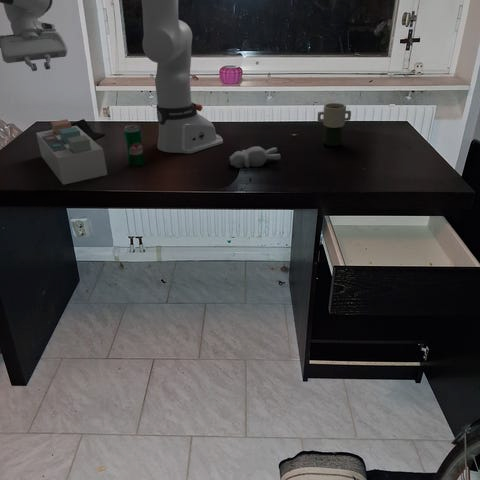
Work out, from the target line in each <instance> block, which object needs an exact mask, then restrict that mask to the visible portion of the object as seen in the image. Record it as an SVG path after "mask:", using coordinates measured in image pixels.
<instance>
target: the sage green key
mask: <svg viewBox="0 0 480 480" xmlns="http://www.w3.org/2000/svg"><path fill="white" fill-rule="evenodd" d="M67 139H68V144H69V149H70V151H71V152H72V153H73V154H74V153H79V152H84V151H89V150H91V145H90V140H89V139H88V138H87V137H86V136H85V135H82V136H77V137H72V138H67Z"/></svg>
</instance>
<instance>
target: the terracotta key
mask: <svg viewBox="0 0 480 480" xmlns="http://www.w3.org/2000/svg"><path fill="white" fill-rule="evenodd" d="M50 124H51V127H52V129H51V130H53V133H54V134H55V135H56V136H57V135H60V133H59V130H60V129H66V128H72V126H71V124H72V123H71V122H70V121H69V120H68V119H61V120H55V121H51V122H50Z"/></svg>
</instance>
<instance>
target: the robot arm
mask: <svg viewBox="0 0 480 480" xmlns="http://www.w3.org/2000/svg"><path fill="white" fill-rule="evenodd" d="M53 2H54V1H53V0H0V3H1V4H3V8H4V12H5V14H6V18H7V20H8V21H9V22H10V28H11V31H12V34H6V35H4V34H2V35H0V52H1V57H2V61H3V62H5V64H13V63H21V62H25V65H27V66H28V67H29V68H30V69H31V72H36V71H38V67H37V65H36V64H37V63H33V62H32V61H37V60H38V61H39V60H45V62H43V66H44V68H45V70H50V69H51V65H50V62H51V59H56V58H66V56H67V55H68V47H67V44H66V41H65V40H64V39H63V37H62V35H61V33H59V32H58V31H57V27H56V25H55V24H54V23H49V22H43V21H40V20H38V19H39V18H41V17H43V16H44V15H45V14H46V13H48V12H49V10H50V9H52V6H53ZM141 8H142V9H141V10H142V26H143V37H142V41H141V42H142V43H141V44H142V50H143V53H144V54H145V56H146V57H147V58H148V59H149V61H152V62H154V63H157V64H156V65H157V66H156V73H155V77H154V83H155V84H154V85H155V94H156V102H157V104H156V119H157V122H158V140H157V144H156V145H157V146H156V147H157V149H158V150H159V151H162V152H165V153H172V154H173V153H177V154H181V153H182V154H193V153H196V152H201V151H203V150H206V149H208V148H214V147H215V146H218V145H222V144H223V143H224V139H223V137H222V136H221V135H220V134H217V133H216V128H215V126H214V124H213V123H212V122H211V120H209V119H207V118H206V117H205V116H203V115H201V114H199V113H198V112H202V111H203V108H204V107H203V105H202V104H199V103H194V102H192V91H191V68H192V67H191V65H192V44H193V32H192V29H191V27H190V26H189V25H188V24H187V23H186V22H185V21H183V20H180V19H179V0H141Z"/></svg>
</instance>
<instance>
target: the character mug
mask: <svg viewBox="0 0 480 480" xmlns="http://www.w3.org/2000/svg"><path fill="white" fill-rule="evenodd" d="M346 114H347V117H346ZM321 116H323V117H322V118H321ZM351 116H352V111H351V110H347V105H346V104H344V103H340V102H339V103H337V102H331V103H330V102H329V103H326V104H324V106H323V111H319V112H318V113H317V122H318V123H323V126H325V129H324V130H325V131H324V135H323V140H322V142H323V144H325V145H327V146H331V147H337V146H340V145H342V143H343V137H342V127H344V126H345V123H346V121H347V122H348V121H351Z"/></svg>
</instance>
